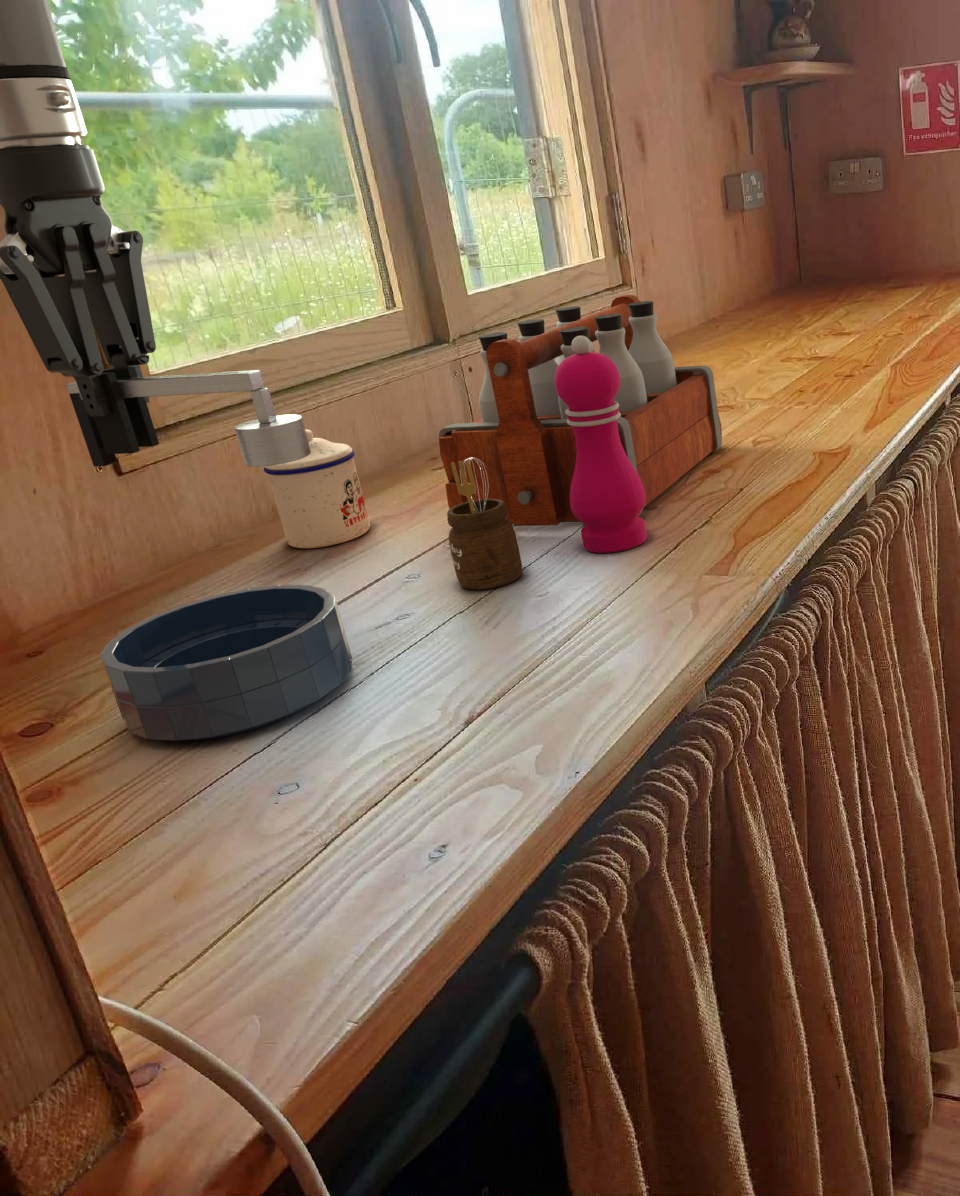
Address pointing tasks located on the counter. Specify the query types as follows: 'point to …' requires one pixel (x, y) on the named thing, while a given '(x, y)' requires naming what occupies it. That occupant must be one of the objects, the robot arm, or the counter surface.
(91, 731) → the counter surface
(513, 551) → the utensil holder
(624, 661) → the counter surface
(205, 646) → the bowl
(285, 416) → the bent grey beam
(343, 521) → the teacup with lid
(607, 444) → the pepper mill
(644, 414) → the milk bottle holder
